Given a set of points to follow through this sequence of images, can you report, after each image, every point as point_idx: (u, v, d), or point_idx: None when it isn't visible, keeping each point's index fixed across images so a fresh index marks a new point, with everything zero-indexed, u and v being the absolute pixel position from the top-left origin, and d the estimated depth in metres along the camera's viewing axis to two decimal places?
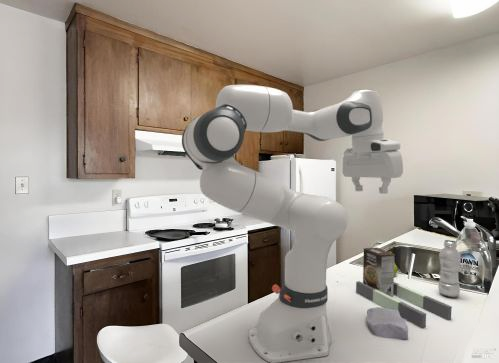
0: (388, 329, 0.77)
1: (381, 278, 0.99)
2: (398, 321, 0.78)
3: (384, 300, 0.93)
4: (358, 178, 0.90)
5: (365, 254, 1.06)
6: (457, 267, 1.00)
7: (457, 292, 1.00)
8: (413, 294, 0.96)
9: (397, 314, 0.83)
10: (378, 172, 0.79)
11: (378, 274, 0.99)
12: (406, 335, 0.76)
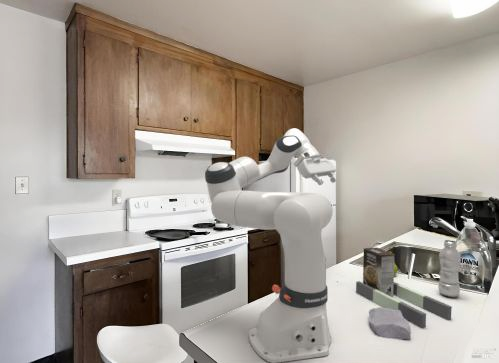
0: (391, 329, 0.77)
1: (381, 278, 0.99)
2: (400, 321, 0.78)
3: (384, 300, 0.93)
4: (330, 173, 1.23)
5: (365, 254, 1.06)
6: (457, 267, 1.00)
7: (457, 292, 1.00)
8: (413, 294, 0.96)
9: (399, 314, 0.83)
10: None
11: (378, 274, 0.99)
12: (409, 335, 0.76)
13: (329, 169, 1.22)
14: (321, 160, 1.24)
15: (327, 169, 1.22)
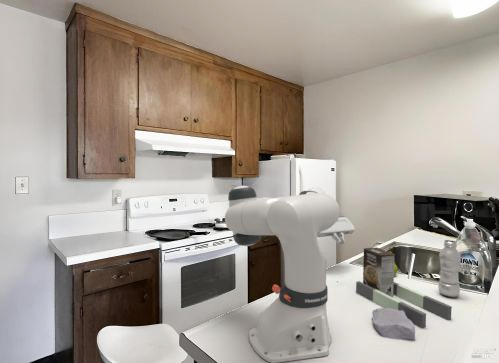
0: (395, 330, 0.77)
1: (381, 278, 0.99)
2: (405, 322, 0.77)
3: (384, 300, 0.93)
4: (340, 234, 1.24)
5: (365, 254, 1.06)
6: (457, 267, 1.00)
7: (457, 292, 1.00)
8: (413, 294, 0.96)
9: (403, 315, 0.83)
10: None
11: (378, 274, 0.99)
12: (413, 336, 0.76)
13: (346, 229, 1.26)
14: (339, 219, 1.29)
15: (343, 229, 1.25)
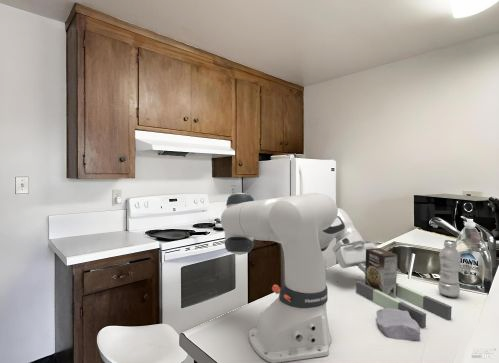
0: (400, 330, 0.77)
1: (383, 279, 0.98)
2: (410, 322, 0.77)
3: (384, 300, 0.93)
4: None
5: (367, 255, 1.05)
6: (457, 267, 1.00)
7: (457, 292, 1.00)
8: (413, 294, 0.96)
9: (407, 315, 0.83)
10: None
11: (381, 275, 0.99)
12: (418, 336, 0.75)
13: None
14: (365, 246, 1.15)
15: None
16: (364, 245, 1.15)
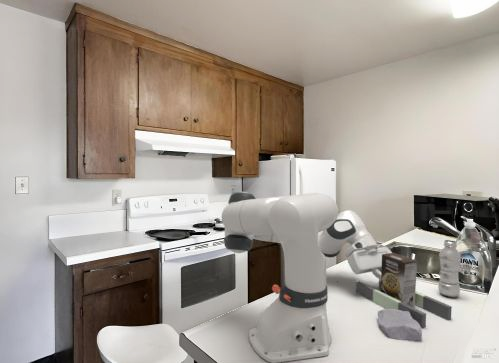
0: (402, 331, 0.76)
1: (403, 287, 0.91)
2: (411, 323, 0.77)
3: (384, 300, 0.93)
4: None
5: (384, 261, 0.98)
6: (457, 267, 1.00)
7: (457, 292, 1.00)
8: None
9: (408, 315, 0.83)
10: None
11: (401, 283, 0.92)
12: (420, 337, 0.75)
13: None
14: (379, 250, 1.08)
15: None
16: (378, 249, 1.08)
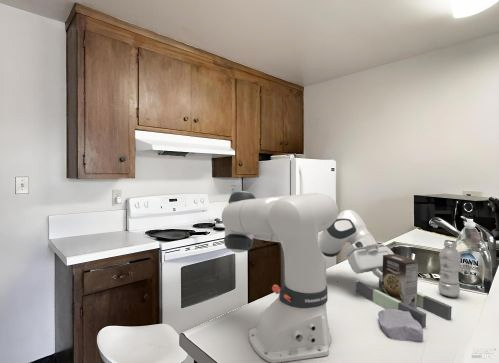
0: (403, 332, 0.76)
1: (405, 288, 0.91)
2: (413, 323, 0.77)
3: (384, 300, 0.93)
4: (382, 269, 1.03)
5: (385, 262, 0.97)
6: (457, 267, 1.00)
7: (457, 292, 1.00)
8: None
9: (409, 316, 0.83)
10: None
11: (402, 284, 0.91)
12: (421, 337, 0.75)
13: None
14: (379, 250, 1.08)
15: None
16: (378, 249, 1.08)
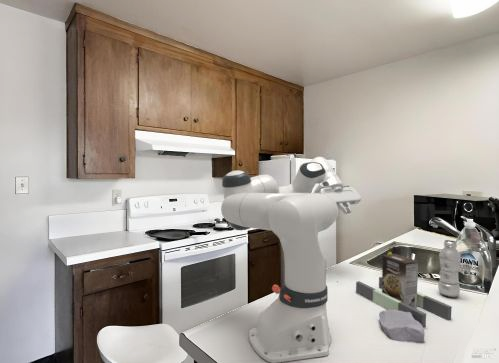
0: (404, 332, 0.76)
1: (405, 288, 0.91)
2: (414, 324, 0.76)
3: (384, 300, 0.93)
4: (346, 204, 1.19)
5: (385, 262, 0.97)
6: (457, 267, 1.00)
7: (457, 292, 1.00)
8: None
9: (410, 316, 0.82)
10: None
11: (402, 284, 0.91)
12: (423, 338, 0.75)
13: (352, 198, 1.21)
14: (344, 189, 1.23)
15: (349, 198, 1.20)
16: (343, 188, 1.24)
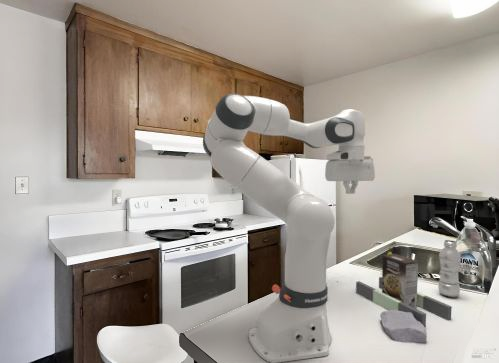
0: (407, 333, 0.75)
1: (405, 288, 0.91)
2: (416, 324, 0.76)
3: (384, 300, 0.93)
4: (354, 182, 1.02)
5: (385, 262, 0.97)
6: (457, 267, 1.00)
7: (457, 292, 1.00)
8: None
9: (411, 317, 0.82)
10: None
11: (402, 284, 0.91)
12: (425, 339, 0.74)
13: (363, 178, 1.02)
14: (362, 164, 1.02)
15: (360, 178, 1.02)
16: (362, 162, 1.02)
